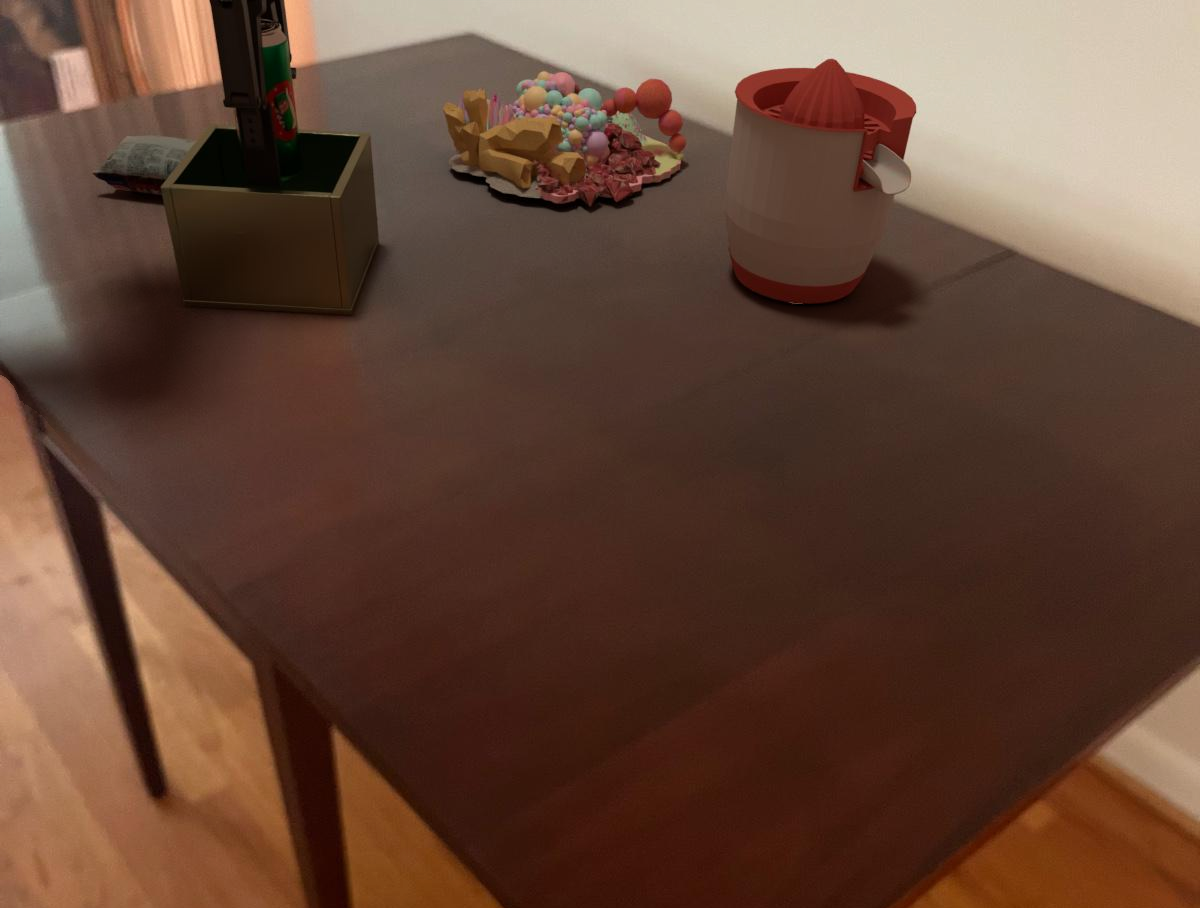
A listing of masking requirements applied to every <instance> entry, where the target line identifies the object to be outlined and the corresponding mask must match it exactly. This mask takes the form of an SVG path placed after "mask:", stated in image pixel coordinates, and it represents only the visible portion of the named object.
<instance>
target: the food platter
mask: <svg viewBox="0 0 1200 908" xmlns="http://www.w3.org/2000/svg"><path fill="white" fill-rule="evenodd" d="M515 91H516V94H517V96H518V97H519V98H518V99H516V100H515V101H514V102H513V104H510V103H508V105H507V102H504V100H502V103H501V92H498V94H497V92H495V94H493V97H492V100H491V99H488V98H487V93H486V89H481V88H478V90H475V89H468V90H462V91H461V93H460V94H459V97H458V98H459V99H458V103H457V105H455V104H454V103H451V102H448V101H446V103H445V104H444V106H443V108H442V110H443V113H444V117H445V120H446V125H447V131H448V133H449V136H450V137H451V139H452V141H453V146H454V147H455V153H457V154H455V155H452V156H451V157H450V159H449V161H448V163H447V164H448V165H449V166H450V167H451V169H452V170H454V171H455V172H458V173H464V174H470V175H472V176H476V177H482V178H483V177H484V178H485V182H486V183H487V184H489V187H490V188H491V189H494V190H496V191H498V192H500V193H502V194H510V195H516V196H518V197H523V198H533V199H543V200H544V201H550V202H552V203H553V204H558V205H559V204H566V203H571V202H575V201H576V200H577V199H581V200H582V201H583V202H584V203H585V204H586V205H588V207H591V206H592V205H593V204H594V202H595V201H596V199H598V197H602V198H611V199H612V198H613V200H614V201H615V202H616V203H618V202H620V201H622V200H624V199H626V198H628V197H630V196H633V195H634V193H636V192H640V191H641V190H642V186H643V184H652V183H661V182H662V181H663V180H667V179H670V178H671V175H673V174H675V173H676V172H679V171H680V170H681V164H682V161H683V159H684V158H685V154H684V152H683V151H684V150H685V148H686V146H687V140H686V138H685V136H684V135H683V134H681V133H680V131H682V128H683V125H684V122H683V121H684V120H683V117H682V115H681V114H680V113H679V112H678V111H677V110H676V109H675V110H674V109H671V106H672V103H673V94H672V91H671V89H670V87H669V85H668V84H667V83H666V82H664V81H663V80H662V79H659V78H649V79H647V80H645V81H643V82H642V83H640V85H639V86H638V87H637V89H636V92H635V91H634V90H633V89H632V88H630V87H627V86H626V87H621V88H619V89H617V90H616V92H615V93H614V95H613V99H611V98H609V99H607V100H605V101H604V102H603V98H602V96H601V93H600V92H599V91H598V90H596V89H595V88H592V87H585V88H583V89H582V88H581V87H580V86H579V85H578V84H576V83H575V80H574V78H573V76H571V74H569V73H567V72H564V71H559V72H556V73H549V72H548V71H544V70H543V71H541V72H539V73H538V75H537V77H536V78H535V79H533V80H532V79H523V80H521V81H520V82H519V83H518V84H517V85H516V87H515ZM635 108H637V111H638V112H639V114H641V115H642V116H643V117H644V118H646V119H648V120H649V119H650V120H657V125H658V126H657V127H658V129H659V131H660V133H662V134H663V135H664V136H667V137H670V138H669V139H668V144H666V143H664V142H661V141H660V140H657V139H653V138H651V137H649V136H647V135H645V134H643V132H642V128H641V126H640V125H639V122H638V121H637V120H636V116H634V115H633V114H632V113H631V112H633V111H634V110H635ZM549 114H550V115H549ZM678 170H679V171H678Z"/></svg>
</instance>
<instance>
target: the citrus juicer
mask: <svg viewBox="0 0 1200 908" xmlns="http://www.w3.org/2000/svg"><path fill="white" fill-rule="evenodd" d="M734 94H735V98H736V106H735V116H734V123H733V130H732V138H731V146H730V154H729V162H728V171H727V180H726V190H725V205H724V208H725V209H724V211H725V229H726V234H727V240H728V253H729V257H730V261H731V265H732V269H733V271H734V275H735V276H736V279H737V280H738V281H739V282H740V283H741V284H742V285H743V286H744V287H746V288H747V289H749V290H750V291H752V292H754V293H757V294H758V295H760V296H764V297H767V298H768V299H773V300H776V301H781V302H786V303H788V302H793V303H805V304H807V305H808V304H822V303H824V304H825V303H829V302H834V301H837V300H840V299H843V298H844V297H847V296H848V295H850V294H851V293H852V292H853V291H855V288H856V287H857V286H858V284H859V283H860V282H861V280H862V279H863V277H864V276H865V274H866V272H867V271H868V269H869V266H870V262H871V261H872V259H873V257H874V255H875V253H876V252H877V250H878V248H879V245H880V243H881V241H882V238H883V236H884V234H885V231H886V229H887V225H888V222H889V220H890V219H889V218H890V216H891V211H892V208H893V204H894V199H895V195H898V194H901V193H903V192H905V191H906V190H908V189H909V187H910V185H911V182H912V171H911V168H910V166H909V165H908V164H907V163H906V161H904V160H905V156H906V152H907V146H908V143H909V142H908V141H909V137H910V133H911V130H912V129H911V128H912V124H913V120H914V118H915V116H916V115H917V103H916V102H915V100H914V98H913V97H912V96H911V95H909V94H908V93H907V92H906V91H904V90H902V89H901V88H899V87H897V86H895V85H893V84H891V83H889V82H886V81H883V80H880V79H877V78H874V77H871V76H868V75H864V74H858V73H854V72H849V71H846V70H845V68H843V66H842V65H841V63H839V61H838V60H837V59H835V58H827V59H826V60H824V61H823V62H821V63H819V64H818V65H817V66H816V67H785V68H774V69H767V70H762V71H759V72H756V73H752V74H750V75H748V76H745V77H744V78H742V79H741V80H740V81H739V82H738V83H737V85H736V87H735V90H734Z"/></svg>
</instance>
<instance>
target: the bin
mask: <svg viewBox="0 0 1200 908" xmlns="http://www.w3.org/2000/svg"><path fill="white" fill-rule="evenodd" d="M298 131H299V139H300V148H301V156H302V164H303V167H302V169H301V171H300V173H299V174H298V175H297V176H296V177H295V178H293V179H291V180H288V181H284V182H282V184H281V186H280V187H273V186H255V185H248V183H247V177H246V173H245V172H244V171H243V167H242V161H241V154H240V148H239V142H238V135H237V129H236V125H232V124H230V125H229V124H211V123H210V124H208V126H207V127H206V128H205V129H204V130H203V132H202V134H200V136H199V137H198V138H197V140H195V141H196V142H195V144H194V145H193V146H192V147H191V149H190V150H189V151H188V153H187V154H186V155H185V156H184V158H183V159H182V160H181V162H180V163H179V164H178V165H177V167H176V168H175V169H174V171H173V172H172V173H171V174H170V176H169V177H168V178H167V180H166V181H165V182H164V183H163V185H162V186H161V192H162V195H161V197H162V200H163V201H162V202H163V206H164V211H165V216H166V221H167V226H168V231H169V236H170V241H171V245H172V251H173V255H174V261H175V265H176V271H177V275H178V281H179V285H180V290H181V294H182V299H183V305H184V307H191V308H192V307H195V308H209V309H210V308H213V309H230V310H231V309H232V310H249V311H267V312H268V311H269V312H282V313H283V312H286V313H302V314H305V313H306V314H319V315H320V314H321V315H323V314H324V315H336V316H337V315H338V316H339V315H340V316H353V313H354V309H355V307H356V306H357V302H358V299H359V297H360V294H361V291H362V289H363V288H364V287H363V286H364V284H365V282H366V279H367V277H368V274H369V271H370V268H371V266H372V264H373V261H374V258H375V255H376V253H377V250H378V248H379V246H380V239H379V226H378V215H377V212H378V211H377V200H376V187H375V186H376V185H375V174H374V163H373V150H372V149H373V148H372V138H371V133H370V132H369V133H368V132H352V131H336V130H334V131H333V130H319V129H299V128H298Z"/></svg>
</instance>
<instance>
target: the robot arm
mask: <svg viewBox="0 0 1200 908" xmlns="http://www.w3.org/2000/svg"><path fill="white" fill-rule="evenodd" d="M209 4H210V5H209V6H210V9H211V17H212V24H213V29H214V36H215V41H216V50H217V56H218V63H219V68H220V75H221V81H222V88H223V94H224V98H223V99H222V104H223V106H224V108H231V109H233V108H236V112H237V118H238V125H239V131H240V138H241V144H242V151H243V157H244V164H245V170H246V177H247V183H248V185H255V186H273V187H280V186H281V184H282V181H281V174H280V166H279V159H278V151H277V144H276V136H275V129H274V121H273V114H272V106H271V105H267V99H266V87H265V73H264V58H263V44H262V30H261V19H270V20H274V21H276V22H278V23H280V25H281V31H282V32H283V33H284V35H285V36H286V38H287V40H288V48H289V56H290V64H292V60H293V54H292V51H291V43H290V35H289V27H288V20H287V12H286V3H285V0H209ZM291 73H292V80H296V78H297V67H293V66H291Z"/></svg>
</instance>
